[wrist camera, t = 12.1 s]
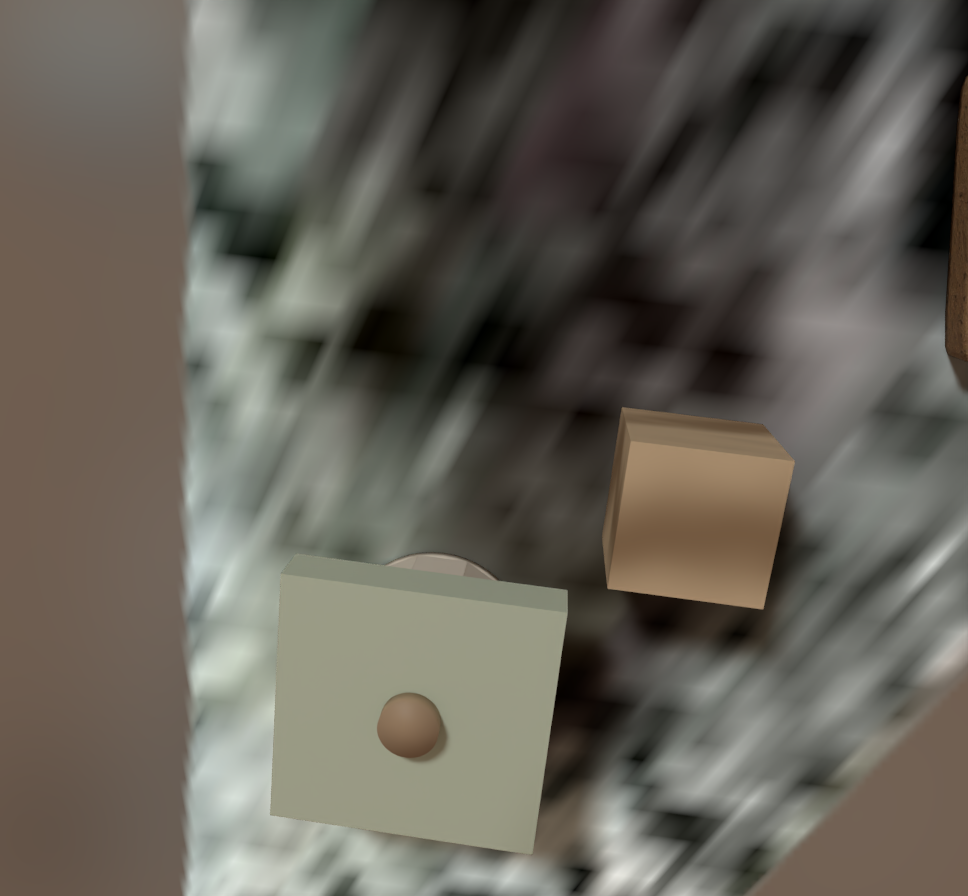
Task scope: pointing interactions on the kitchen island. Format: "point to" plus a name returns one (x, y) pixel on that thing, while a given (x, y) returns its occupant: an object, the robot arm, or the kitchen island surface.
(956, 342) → the candle holder
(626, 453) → the block
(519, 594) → the lid
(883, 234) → the kitchen island surface
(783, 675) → the kitchen island surface
